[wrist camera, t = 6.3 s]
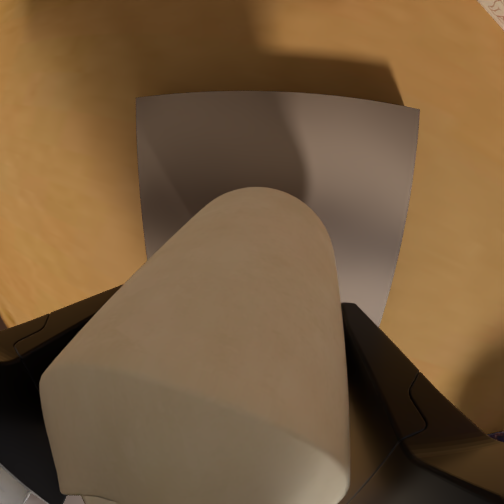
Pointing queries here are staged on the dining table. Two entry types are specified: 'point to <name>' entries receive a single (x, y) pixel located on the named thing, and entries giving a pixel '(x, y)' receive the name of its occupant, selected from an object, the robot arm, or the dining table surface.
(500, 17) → the stack of blocks
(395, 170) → the grey square slab
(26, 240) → the dining table surface
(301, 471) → the candle
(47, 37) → the dining table surface
